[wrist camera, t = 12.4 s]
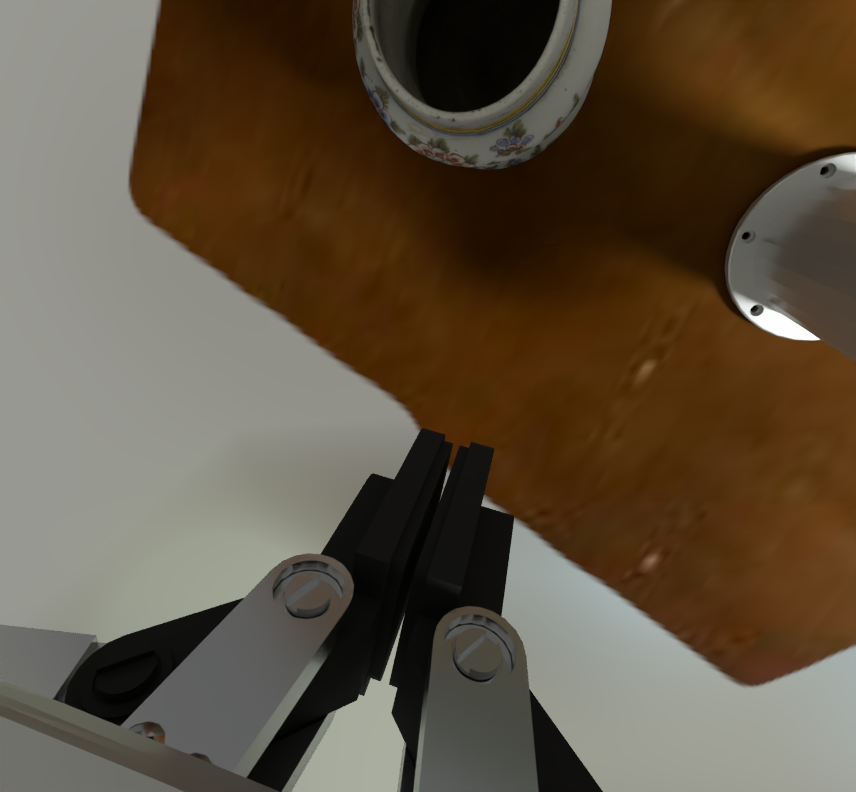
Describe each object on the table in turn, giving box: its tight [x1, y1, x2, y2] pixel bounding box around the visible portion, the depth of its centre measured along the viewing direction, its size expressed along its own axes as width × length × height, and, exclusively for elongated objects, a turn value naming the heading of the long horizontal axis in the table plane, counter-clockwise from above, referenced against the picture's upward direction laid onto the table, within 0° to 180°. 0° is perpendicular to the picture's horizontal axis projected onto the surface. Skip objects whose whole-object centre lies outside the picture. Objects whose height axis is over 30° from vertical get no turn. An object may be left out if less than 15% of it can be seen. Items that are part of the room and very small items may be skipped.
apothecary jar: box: [352, 0, 612, 170], centre depth 26 cm, size 12×12×18 cm
